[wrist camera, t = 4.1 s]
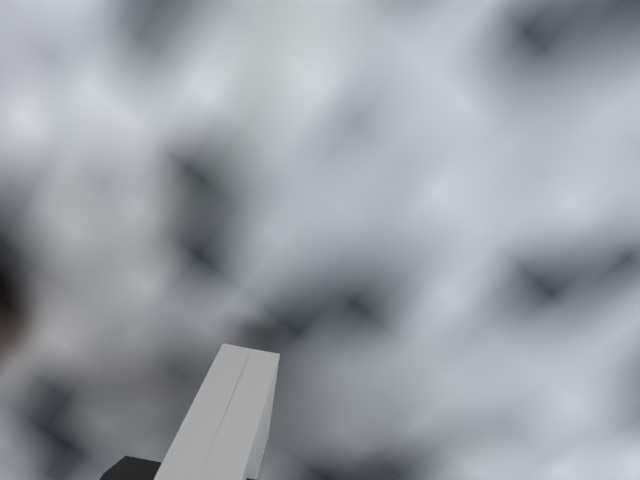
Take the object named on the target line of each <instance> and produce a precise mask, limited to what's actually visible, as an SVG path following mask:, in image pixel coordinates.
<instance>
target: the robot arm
mask: <svg viewBox="0 0 640 480" xmlns="http://www.w3.org/2000/svg"><path fill="white" fill-rule="evenodd" d="M279 358H280V354H278V353H272V352H267V351H261V350H256V349H251V348H245V347H240V346H234V345H229V344H222V346H221V348H220V350H219V352H218V354H217V356H216V357H215V359H214V361H213V363H212V365H211V367H210V369H209V371H208V373H207V375H206V377H205V379H204V381H203V383H202V385H201V387H200V389H199V391H198V393H197V395H196V397H195V399H194V401H193V403H192V405H191V407H190V409H189V411H188V413H187V415H186V417H185V419H184V421H183V423H182V424H181V426H180V428H179V430H178V432H177V434H176V436H175V438H174V440H173V442H172V444H171V446H170V448H169V450H168V452H167V454H166V456H165V458H164V460H163V462H162V463H160V462H155V461H150V460H145V459H140V458H134V457H129V456H125V457H124V458H123V459H121V460H120V461H119V462H118V463H116V464H115V465H114V466H113V467H111V468H110V469H109V470H108V471H106V472H105V473H104V474H103V475H102V477H101V479H100V480H257V478H258V474H259V470H260V467H261V463H262V459H263V456H264V452H265V448H266V444H267V441H268V437H269V430H270V423H271V416H272V408H273V401H274V394H275V387H276V380H277V373H278V366H279Z"/></svg>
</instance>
